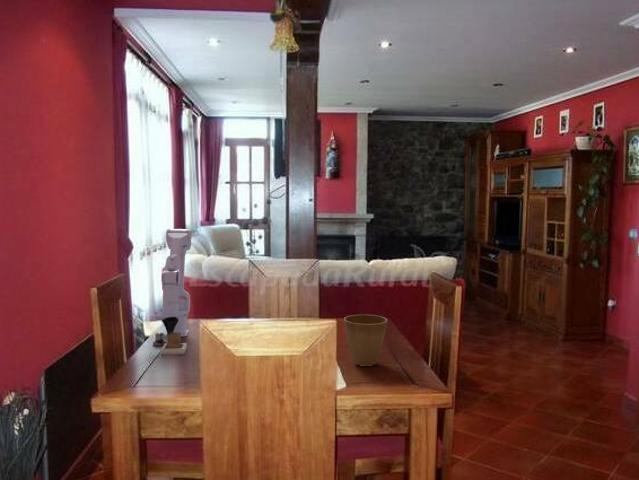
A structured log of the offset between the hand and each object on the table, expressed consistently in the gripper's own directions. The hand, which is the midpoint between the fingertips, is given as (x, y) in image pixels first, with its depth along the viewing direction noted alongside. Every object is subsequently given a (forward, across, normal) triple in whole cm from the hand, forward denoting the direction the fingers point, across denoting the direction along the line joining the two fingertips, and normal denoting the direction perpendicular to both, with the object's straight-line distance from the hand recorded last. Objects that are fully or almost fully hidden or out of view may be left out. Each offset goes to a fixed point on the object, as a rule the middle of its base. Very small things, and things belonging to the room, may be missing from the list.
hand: (170, 337), depth 200 cm
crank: (+2, 0, +3) cm, 3 cm away
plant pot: (+4, +36, -65) cm, 75 cm away
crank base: (+3, +1, +4) cm, 5 cm away
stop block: (+3, -3, -7) cm, 8 cm away
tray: (+4, -3, -7) cm, 9 cm away
